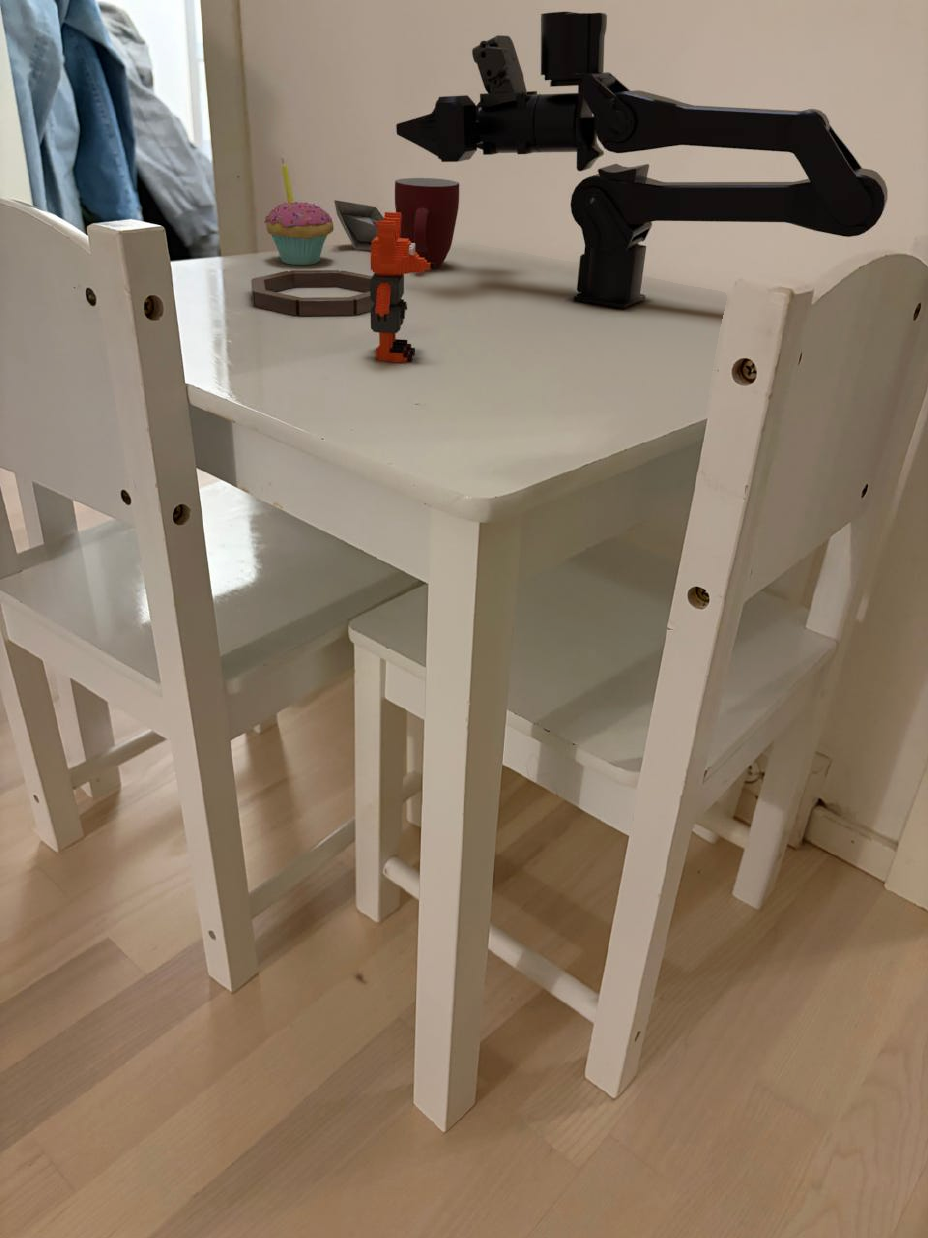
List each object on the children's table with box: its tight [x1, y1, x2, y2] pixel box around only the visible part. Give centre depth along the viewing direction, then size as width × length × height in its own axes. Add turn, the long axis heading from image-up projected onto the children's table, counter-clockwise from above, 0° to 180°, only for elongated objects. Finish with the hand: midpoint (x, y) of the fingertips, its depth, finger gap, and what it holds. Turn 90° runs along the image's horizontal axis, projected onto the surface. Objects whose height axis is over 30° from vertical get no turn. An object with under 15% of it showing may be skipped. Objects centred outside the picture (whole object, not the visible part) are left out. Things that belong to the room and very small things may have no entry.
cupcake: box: [264, 157, 335, 266], centre depth 120 cm, size 9×8×12 cm
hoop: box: [250, 269, 374, 317], centre depth 105 cm, size 15×15×2 cm
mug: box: [394, 177, 460, 270], centre depth 120 cm, size 10×8×10 cm
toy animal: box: [370, 211, 436, 363], centre depth 85 cm, size 8×6×12 cm
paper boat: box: [333, 199, 384, 251], centre depth 130 cm, size 12×6×9 cm
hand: (415, 126), depth 110 cm, fingers open, 9 cm apart
